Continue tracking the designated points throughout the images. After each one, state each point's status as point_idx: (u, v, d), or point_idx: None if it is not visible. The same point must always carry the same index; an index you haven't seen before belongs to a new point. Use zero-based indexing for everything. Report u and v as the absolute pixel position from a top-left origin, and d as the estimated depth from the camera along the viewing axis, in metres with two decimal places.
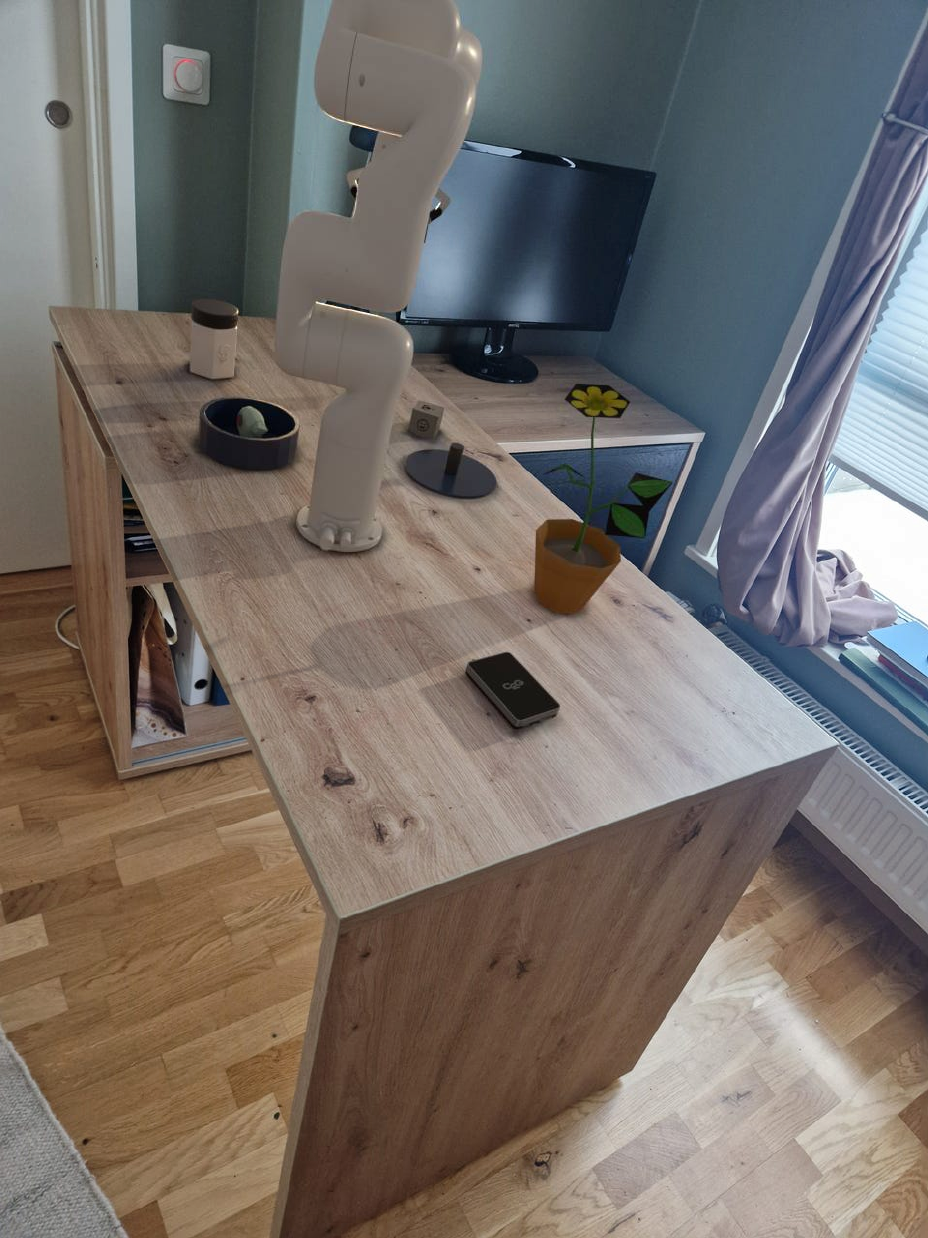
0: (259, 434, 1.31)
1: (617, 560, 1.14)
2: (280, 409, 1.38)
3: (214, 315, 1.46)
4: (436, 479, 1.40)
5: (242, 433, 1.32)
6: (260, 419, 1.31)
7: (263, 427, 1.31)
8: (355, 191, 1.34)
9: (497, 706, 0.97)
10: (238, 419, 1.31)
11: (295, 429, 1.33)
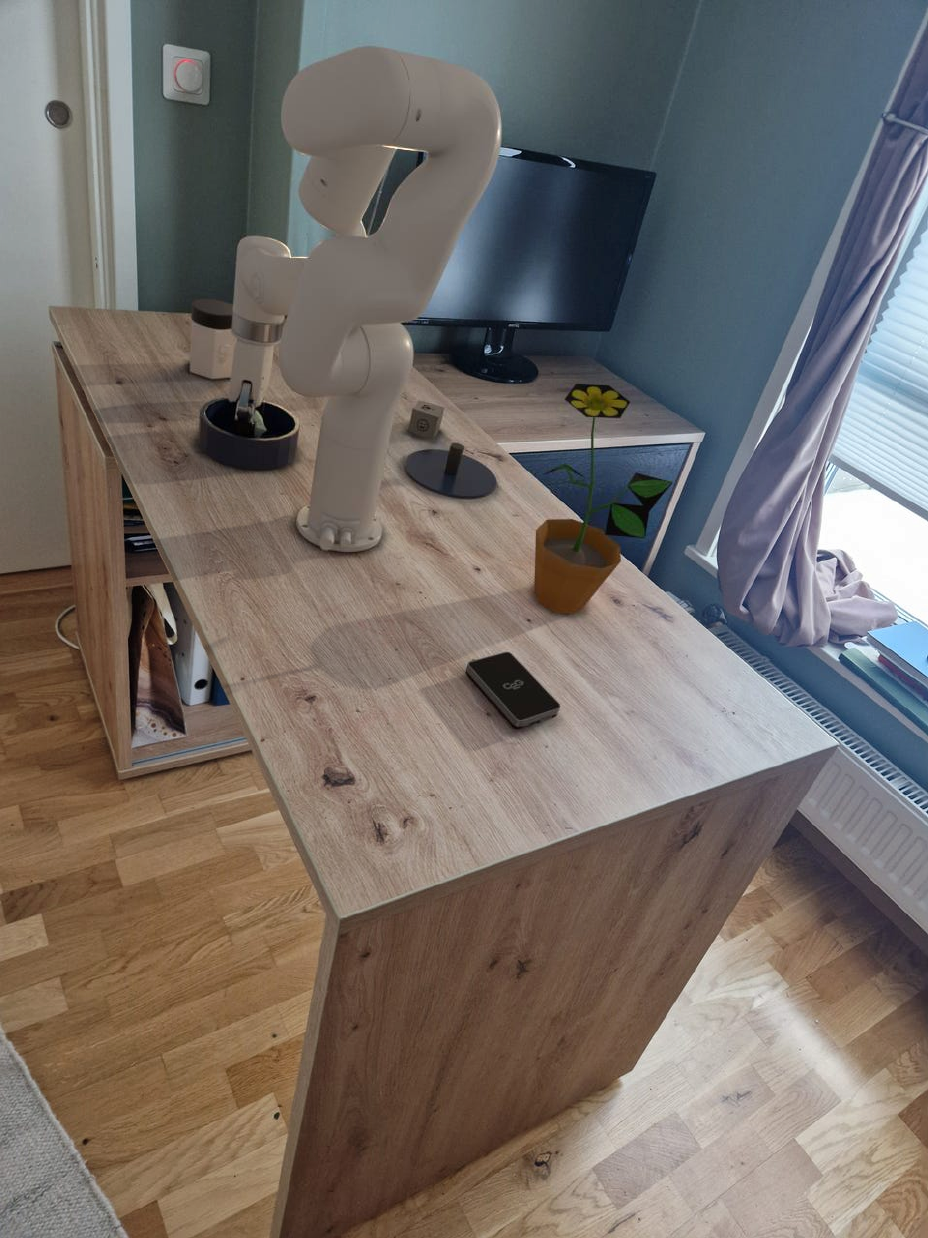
0: (258, 434, 1.31)
1: (617, 560, 1.14)
2: (280, 409, 1.38)
3: (214, 315, 1.46)
4: (436, 479, 1.40)
5: None
6: (258, 419, 1.31)
7: (262, 427, 1.30)
8: None
9: (497, 706, 0.97)
10: None
11: (295, 429, 1.33)
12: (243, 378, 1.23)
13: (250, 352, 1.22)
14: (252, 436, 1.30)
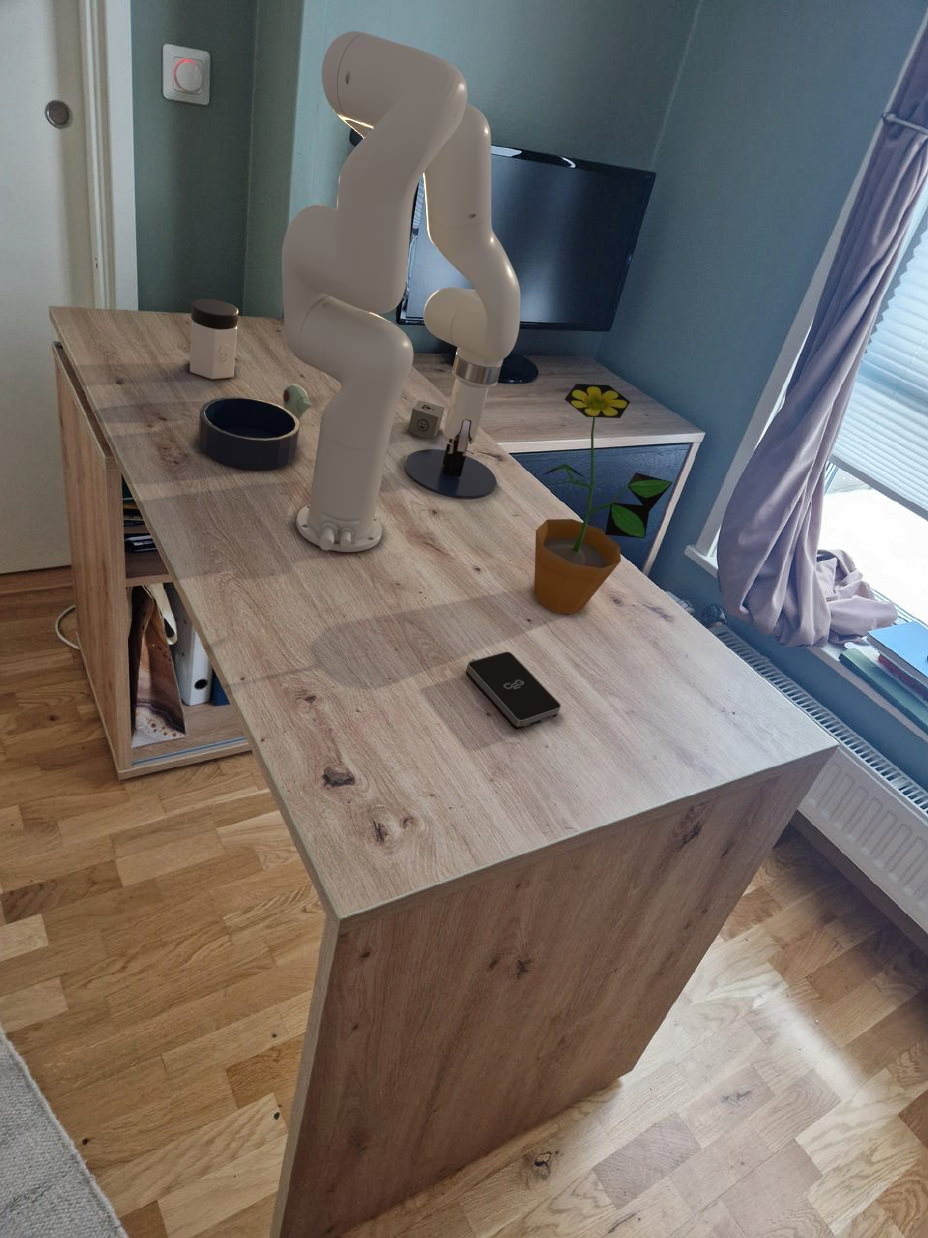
0: (304, 409, 1.43)
1: (617, 560, 1.14)
2: (280, 409, 1.38)
3: (214, 315, 1.46)
4: (436, 479, 1.40)
5: (288, 408, 1.44)
6: (305, 395, 1.43)
7: (308, 402, 1.42)
8: None
9: (498, 706, 0.97)
10: (285, 395, 1.43)
11: (295, 429, 1.33)
12: (464, 417, 1.32)
13: (473, 394, 1.30)
14: (461, 467, 1.41)
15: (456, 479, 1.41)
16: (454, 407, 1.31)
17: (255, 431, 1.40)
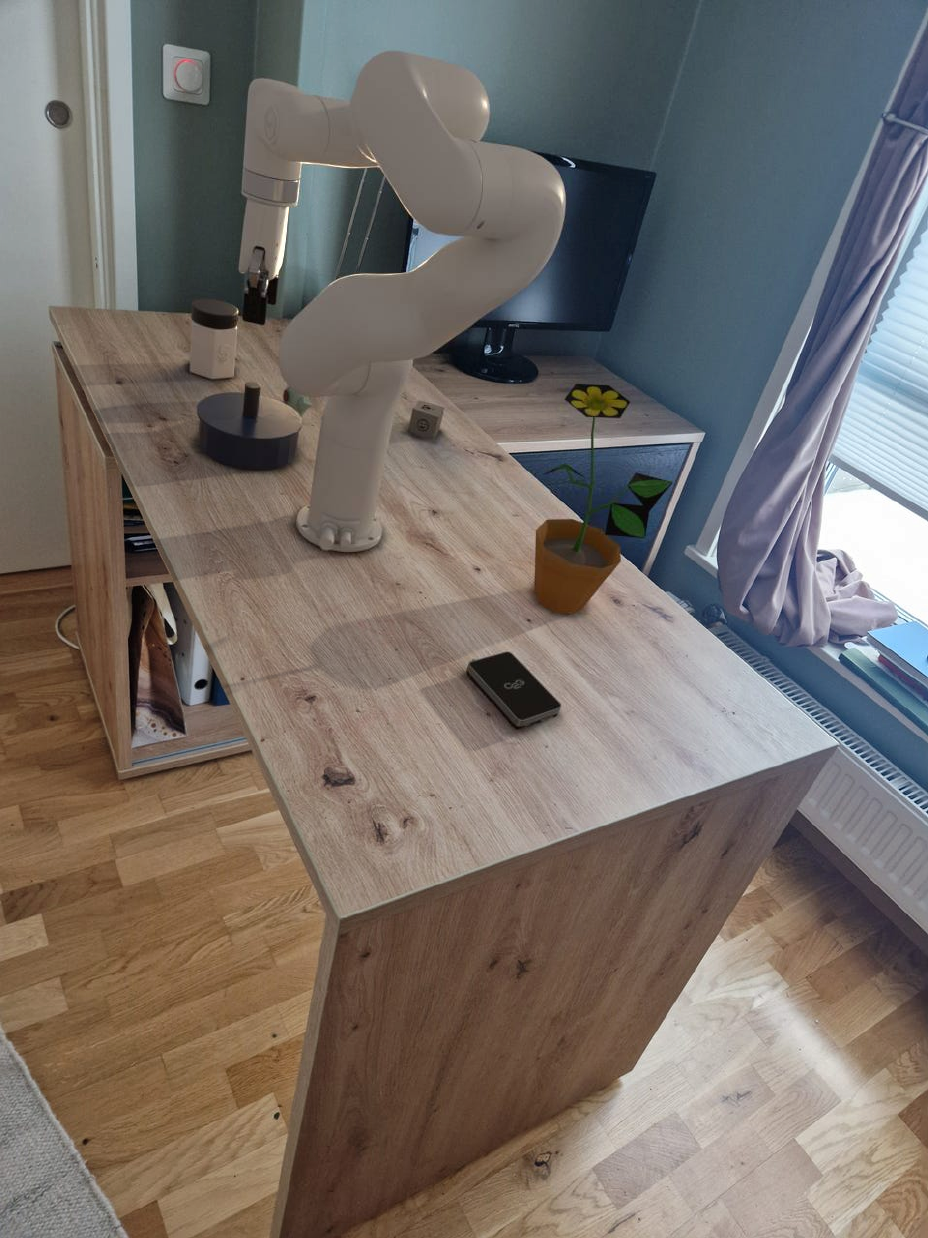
0: (304, 409, 1.43)
1: (617, 560, 1.14)
2: None
3: (214, 315, 1.46)
4: (228, 420, 1.28)
5: None
6: None
7: (308, 402, 1.42)
8: None
9: (499, 706, 0.97)
10: (285, 395, 1.43)
11: None
12: (255, 244, 1.12)
13: (263, 213, 1.10)
14: (264, 312, 1.17)
15: (253, 422, 1.30)
16: (243, 231, 1.12)
17: None
